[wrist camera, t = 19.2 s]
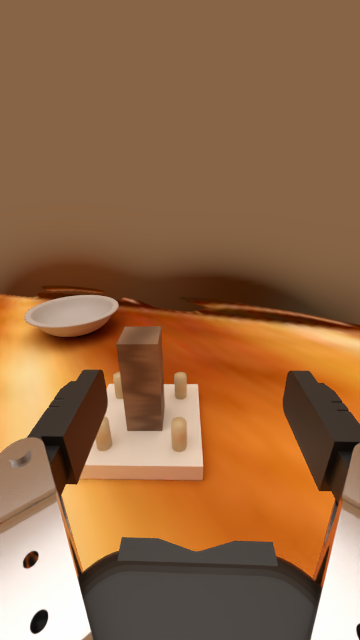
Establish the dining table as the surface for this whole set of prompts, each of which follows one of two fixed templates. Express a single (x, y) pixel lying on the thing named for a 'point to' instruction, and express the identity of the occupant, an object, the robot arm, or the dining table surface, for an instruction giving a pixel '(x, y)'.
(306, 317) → the dining table surface
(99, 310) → the soup bowl
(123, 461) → the peg stand
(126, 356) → the walnut post
